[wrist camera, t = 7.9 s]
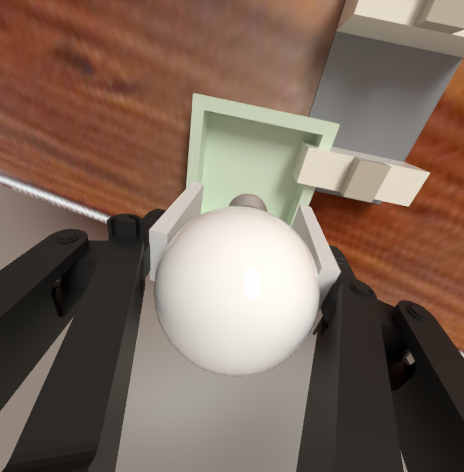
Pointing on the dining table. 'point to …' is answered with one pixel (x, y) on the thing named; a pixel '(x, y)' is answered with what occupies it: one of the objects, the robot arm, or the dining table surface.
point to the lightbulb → (237, 289)
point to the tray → (251, 153)
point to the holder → (381, 96)
